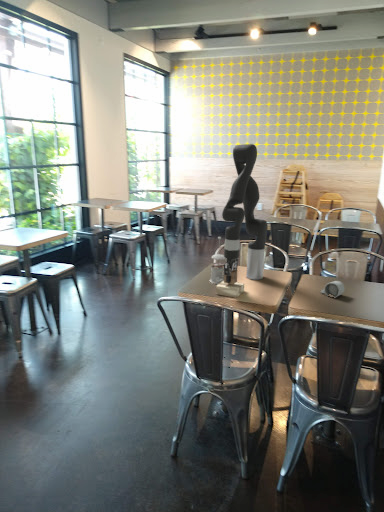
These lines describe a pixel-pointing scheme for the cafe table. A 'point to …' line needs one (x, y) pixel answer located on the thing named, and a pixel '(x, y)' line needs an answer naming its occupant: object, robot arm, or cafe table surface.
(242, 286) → the birch base
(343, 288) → the ceramic mug
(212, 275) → the french press
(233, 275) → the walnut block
